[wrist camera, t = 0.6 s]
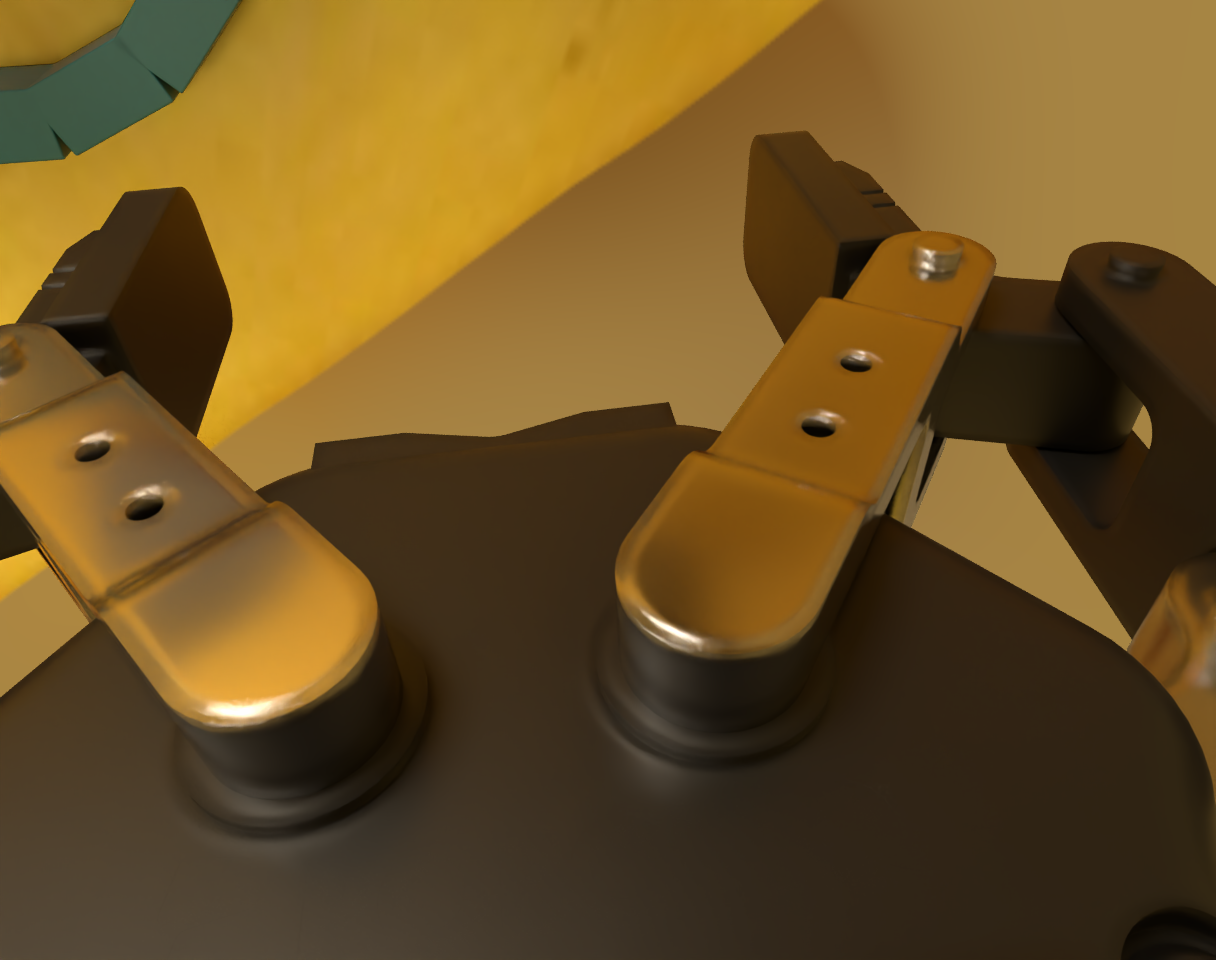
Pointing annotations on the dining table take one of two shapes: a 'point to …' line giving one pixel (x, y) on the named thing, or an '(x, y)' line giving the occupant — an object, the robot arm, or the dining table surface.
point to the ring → (108, 80)
